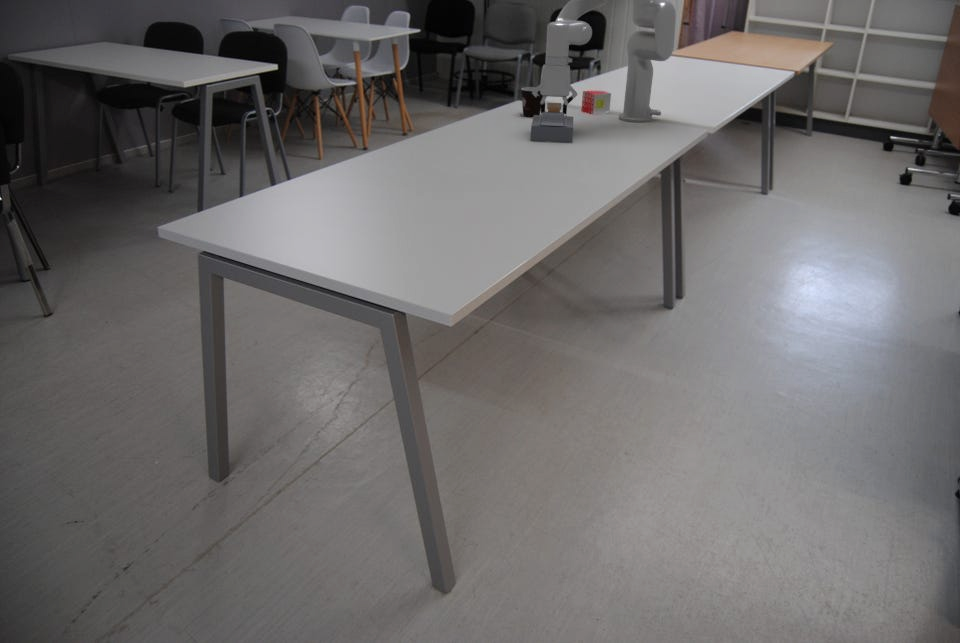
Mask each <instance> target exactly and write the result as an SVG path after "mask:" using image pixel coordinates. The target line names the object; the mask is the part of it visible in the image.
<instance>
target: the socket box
mask: <svg viewBox="0 0 960 643" xmlns="http://www.w3.org/2000/svg"><path fill="white" fill-rule="evenodd" d="M541 120H542V113H540V115H534V117H533V118H532V121H531V126H530V127H531V128H530V142H546V141H551V143H553V142H554V143H570V142H572V143H573V138H574V116H568V115H567V114H564V126H549V125H541Z"/></svg>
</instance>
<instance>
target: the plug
mask: <svg viewBox="0 0 960 643" xmlns="http://www.w3.org/2000/svg"><path fill="white" fill-rule="evenodd" d="M546 108H547V112H561V111H562V103H560V102H547V105H546Z"/></svg>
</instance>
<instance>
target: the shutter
mask: <svg viewBox="0 0 960 643" xmlns="http://www.w3.org/2000/svg"><path fill="white" fill-rule="evenodd" d="M541 114H542V120H541V125H549V126H564V116H565V115H566V114H565V112H563V111H562V112H561V111H560V112H548V111H545V112H542V113H541Z"/></svg>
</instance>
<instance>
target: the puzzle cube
mask: <svg viewBox="0 0 960 643" xmlns="http://www.w3.org/2000/svg"><path fill="white" fill-rule="evenodd" d="M611 98H612V92H609V91H604V90H600V89H595V90H583V91H582V100H581V112H582V111H583V112H582V113H585V112H586V113H585V114H588V113H589V115H591V114H593V115H592V116H595V115H594V114H599V115H604V114H603V113H606V111H609V112H610V111H611V110H610V108H611V100H612V99H611Z"/></svg>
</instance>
